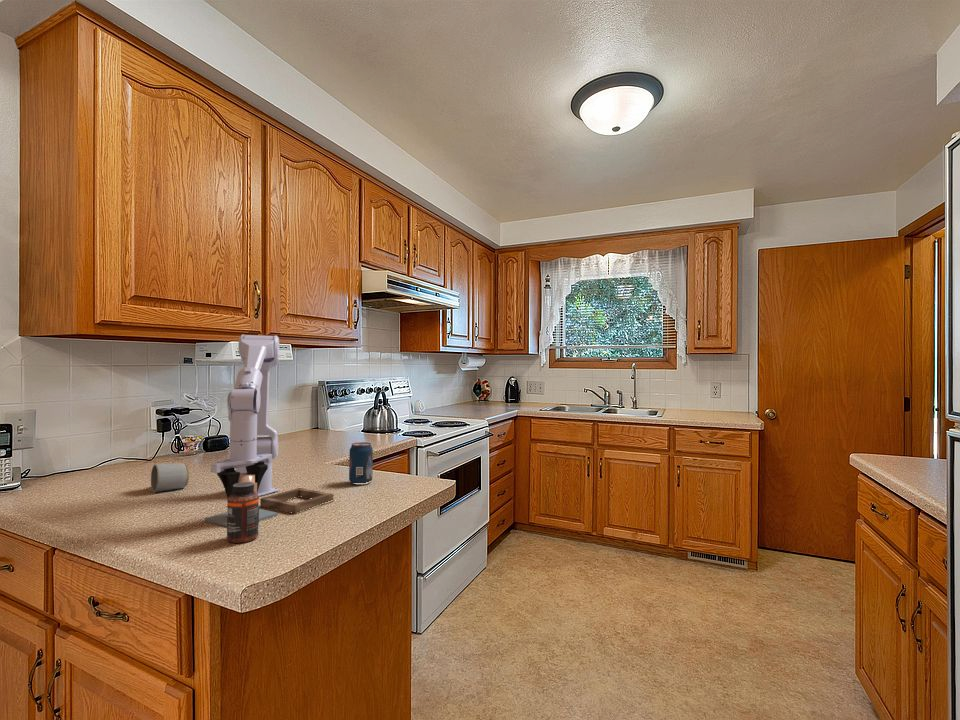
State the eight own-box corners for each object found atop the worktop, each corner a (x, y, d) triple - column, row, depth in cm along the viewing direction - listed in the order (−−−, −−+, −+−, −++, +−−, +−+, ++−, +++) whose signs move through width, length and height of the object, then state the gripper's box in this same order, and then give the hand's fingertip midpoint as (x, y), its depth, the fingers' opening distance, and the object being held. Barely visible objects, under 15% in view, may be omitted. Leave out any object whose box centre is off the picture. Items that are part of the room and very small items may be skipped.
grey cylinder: (190, 489, 137) (190, 462, 137) (156, 494, 131) (157, 466, 131) (178, 483, 144) (179, 457, 144) (146, 488, 138) (147, 461, 138)
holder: (260, 506, 122) (260, 498, 122) (299, 494, 133) (299, 487, 133) (295, 514, 116) (295, 505, 116) (333, 501, 127) (333, 493, 127)
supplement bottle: (263, 533, 102) (264, 480, 103) (251, 544, 97) (252, 487, 97) (235, 533, 102) (236, 480, 102) (220, 544, 96) (222, 487, 96)
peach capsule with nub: (225, 510, 111) (226, 476, 111) (244, 505, 116) (245, 472, 116) (244, 515, 108) (245, 479, 109) (263, 509, 113) (264, 475, 113)
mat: (204, 520, 110) (204, 518, 110) (247, 508, 120) (247, 506, 120) (235, 529, 105) (235, 526, 105) (277, 515, 115) (277, 512, 115)
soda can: (350, 480, 150) (351, 442, 150) (373, 480, 151) (374, 442, 151) (347, 486, 143) (347, 445, 143) (370, 485, 144) (371, 445, 144)
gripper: (225, 445, 104) (224, 508, 104) (281, 437, 117) (280, 493, 117) (205, 442, 108) (204, 503, 108) (261, 434, 121) (260, 489, 120)
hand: (242, 497), depth 113 cm, fingers closed on peach capsule with nub, 5 cm apart
